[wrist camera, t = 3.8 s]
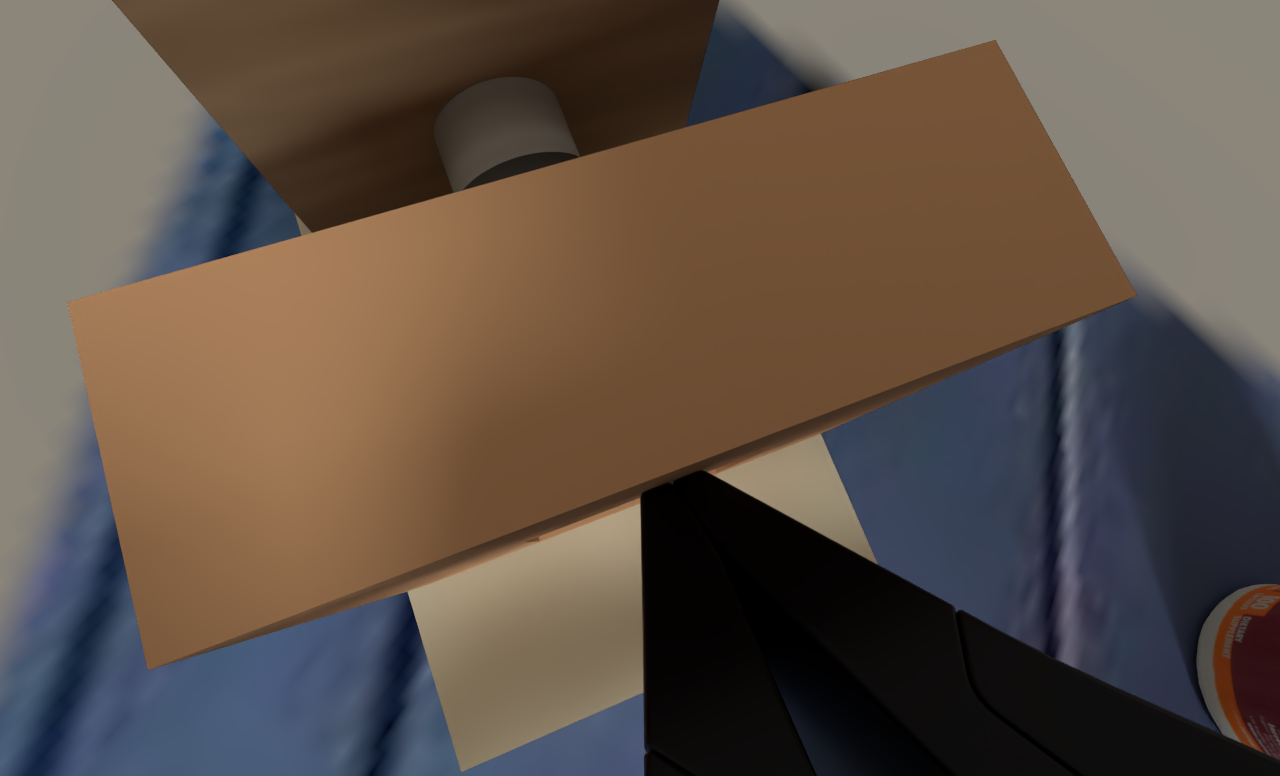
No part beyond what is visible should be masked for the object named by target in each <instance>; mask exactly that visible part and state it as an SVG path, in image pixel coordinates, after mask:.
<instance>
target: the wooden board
mask: <svg viewBox="0 0 1280 776" xmlns="http://www.w3.org/2000/svg"><path fill="white" fill-rule="evenodd" d="M1135 296H1137V294H1136V293H1135V291H1134V289H1133V287H1132V285H1131V283H1130V282H1129V280H1128V278H1127V276H1126V274H1125V273H1124V271H1123V269H1122V267H1121V265H1120V264H1119V262H1118V260H1117V258H1116V256H1115V255H1114V253H1113V251H1112V249H1111V247H1110V246H1109V244H1108V242H1107V240H1106V238H1105V237H1104V235H1103V233H1102V231H1101V229H1100V228H1099V226H1098V224H1097V222H1096V220H1095V219H1094V217H1093V215H1092V213H1091V211H1090V210H1089V208H1088V206H1087V204H1086V202H1085V201H1084V199H1083V197H1082V195H1081V193H1080V192H1079V190H1078V188H1077V186H1076V184H1075V182H1074V181H1073V179H1072V177H1071V175H1070V173H1069V172H1068V170H1067V168H1066V166H1065V164H1064V163H1063V161H1062V159H1061V157H1060V155H1059V154H1058V152H1057V150H1056V148H1055V146H1054V145H1053V143H1052V141H1051V139H1050V138H1049V136H1048V134H1047V132H1046V130H1045V128H1044V127H1043V125H1042V123H1041V121H1040V119H1039V118H1038V116H1037V114H1036V112H1035V110H1034V109H1033V107H1032V105H1031V103H1030V101H1029V99H1028V98H1027V96H1026V94H1025V92H1024V90H1023V89H1022V87H1021V85H1020V83H1019V82H1018V80H1017V78H1016V76H1015V74H1014V72H1013V71H1012V69H1011V67H1010V65H1009V64H1008V62H1007V60H1006V58H1005V56H1004V54H1003V53H1002V51H1001V49H1000V47H999V46H998V44H997V42H996V40H994V41H990V42H987V43H983V44H980V45H976V46H973V47H969V48H965V49H962V50H958V51H955V52H951V53H948V54H944V55H941V56H937V57H933V58H930V59H926V60H923V61H919V62H916V63H912V64H909V65H905V66H902V67H898V68H895V69H891V70H887V71H884V72H880V73H877V74H873V75H870V76H866V77H863V78H859V79H856V80H852V81H848V82H845V83H841V84H838V85H834V86H831V87H827V88H824V89H820V90H817V91H813V92H810V93H806V94H802V95H799V96H795V97H792V98H788V99H785V100H781V101H778V102H774V103H771V104H767V105H763V106H760V107H756V108H753V109H749V110H746V111H742V112H739V113H735V114H732V115H728V116H725V117H721V118H717V119H714V120H710V121H707V122H703V123H700V124H696V125H693V126H689V127H686V128H682V129H679V130H675V131H671V132H668V133H664V134H661V135H657V136H654V137H650V138H647V139H643V140H640V141H636V142H632V143H629V144H625V145H622V146H618V147H615V148H611V149H608V150H604V151H601V152H597V153H594V154H590V155H586V156H583V157H579V158H576V159H572V160H569V161H565V162H562V163H558V164H555V165H551V166H547V167H544V168H540V169H537V170H533V171H530V172H526V173H523V174H519V175H516V176H512V177H509V178H505V179H501V180H498V181H494V182H491V183H487V184H484V185H480V186H477V187H473V188H470V189H466V190H462V191H459V192H455V193H452V194H448V195H445V196H441V197H438V198H434V199H431V200H427V201H424V202H420V203H416V204H413V205H409V206H406V207H402V208H399V209H395V210H392V211H388V212H385V213H381V214H377V215H374V216H370V217H367V218H363V219H360V220H356V221H353V222H349V223H346V224H342V225H339V226H335V227H331V228H328V229H324V230H321V231H317V232H314V233H310V234H307V235H303V236H300V237H296V238H292V239H289V240H285V241H282V242H278V243H275V244H271V245H268V246H264V247H261V248H257V249H254V250H250V251H246V252H243V253H239V254H236V255H232V256H229V257H225V258H222V259H218V260H215V261H211V262H207V263H204V264H200V265H197V266H193V267H190V268H186V269H183V270H179V271H176V272H172V273H169V274H165V275H161V276H158V277H154V278H151V279H147V280H144V281H140V282H137V283H133V284H130V285H126V286H122V287H119V288H115V289H112V290H108V291H105V292H101V293H98V294H94V295H91V296H87V297H84V298H80V299H77V300H73V301H70V302H67V303H68V307H69V312H70V317H71V321H72V325H73V330H74V335H75V339H76V344H77V348H78V353H79V358H80V362H81V367H82V371H83V376H84V380H85V385H86V390H87V394H88V399H89V403H90V408H91V412H92V417H93V421H94V426H95V431H96V435H97V440H98V444H99V449H100V453H101V458H102V463H103V467H104V472H105V476H106V481H107V485H108V490H109V494H110V499H111V504H112V508H113V513H114V517H115V522H116V526H117V531H118V536H119V540H120V545H121V549H122V554H123V558H124V563H125V567H126V572H127V577H128V581H129V586H130V590H131V595H132V599H133V604H134V609H135V613H136V618H137V622H138V627H139V631H140V636H141V640H142V645H143V650H144V654H145V659H146V663H147V668H148V670H150V669H154V668H157V667H160V666H163V665H167V664H170V663H173V662H177V661H180V660H183V659H186V658H190V657H193V656H196V655H200V654H203V653H206V652H210V651H213V650H216V649H219V648H223V647H226V646H229V645H233V644H236V643H239V642H242V641H246V640H249V639H252V638H256V637H259V636H262V635H265V634H269V633H272V632H275V631H279V630H282V629H285V628H288V627H292V626H295V625H298V624H302V623H305V622H308V621H312V620H315V619H318V618H321V617H325V616H328V615H331V614H335V613H338V612H341V611H344V610H348V609H351V608H354V607H358V606H361V605H364V604H367V603H371V602H374V601H377V600H381V599H384V598H387V597H390V596H394V595H397V594H400V593H404V592H407V591H410V590H414V589H417V588H420V587H423V586H427V585H429V584H432V583H435V582H437V581H440V580H442V579H445V578H448V577H450V576H453V575H455V574H458V573H461V572H463V571H466V570H468V569H471V568H474V567H476V566H479V565H481V564H484V563H487V562H489V561H492V560H494V559H497V558H500V557H502V556H505V555H507V554H510V553H513V552H515V551H518V550H520V549H523V548H526V547H528V546H531V545H533V544H536V543H539V542H541V541H544V540H546V539H549V538H552V537H554V536H557V535H559V534H562V533H565V532H567V531H570V530H572V529H575V528H578V527H580V526H583V525H585V524H588V523H591V522H593V521H596V520H598V519H601V518H604V517H606V516H609V515H611V514H614V513H617V512H619V511H622V510H625V509H627V508H630V507H632V506H635V505H638V504H640V496H641V493H642V492H645V491H647V490H650V489H653V488H655V487H658V486H660V485H663V484H666V483H671V484H672V485H673V482H674V480H676V479H679V478H681V477H684V476H687V475H689V474H692V473H694V472H697V471H700V470H704V471H707V472H709V473H710V474H712V475H716V474H718V473H721V472H723V471H726V470H729V469H731V468H734V467H736V466H739V465H742V464H744V463H747V462H749V461H752V460H755V459H757V458H760V457H762V456H765V455H768V454H770V453H773V452H775V451H778V450H781V449H783V448H786V447H788V446H791V445H794V444H796V443H799V442H801V441H804V440H807V439H809V438H811V437H814V436H816V435H818V434H821V433H823V432H825V431H827V430H830V429H832V428H834V427H837V426H839V425H841V424H844V423H846V422H848V421H850V420H853V419H855V418H857V417H860V416H862V415H864V414H866V413H869V412H871V411H873V410H876V409H878V408H880V407H883V406H885V405H887V404H889V403H892V402H894V401H896V400H899V399H901V398H903V397H905V396H908V395H910V394H912V393H915V392H917V391H919V390H922V389H924V388H926V387H928V386H931V385H933V384H935V383H938V382H940V381H942V380H944V379H947V378H949V377H951V376H954V375H956V374H958V373H961V372H963V371H965V370H967V369H970V368H972V367H974V366H977V365H979V364H981V363H983V362H986V361H988V360H990V359H993V358H995V357H997V356H1000V355H1002V354H1004V353H1006V352H1009V351H1011V350H1013V349H1016V348H1018V347H1020V346H1022V345H1025V344H1027V343H1029V342H1032V341H1034V340H1036V339H1039V338H1041V337H1043V336H1045V335H1048V334H1050V333H1052V332H1055V331H1057V330H1059V329H1061V328H1064V327H1066V326H1068V325H1071V324H1073V323H1075V322H1078V321H1080V320H1082V319H1084V318H1087V317H1089V316H1091V315H1094V314H1096V313H1098V312H1100V311H1103V310H1105V309H1107V308H1110V307H1112V306H1114V305H1117V304H1119V303H1121V302H1123V301H1126V300H1128V299H1130V298H1133V297H1135Z"/></svg>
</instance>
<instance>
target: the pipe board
mask: <svg viewBox="0 0 1280 776" xmlns="http://www.w3.org/2000/svg"><path fill="white" fill-rule="evenodd" d="M112 1H113V2H114V3H115V4H116V5H117V7H118V8H119V9H120V10H121V11H122V12H123V13H124V15H125V16H126V17H127V18H128V19H129V21H130V22H131V23H132V24H133V25H134V26H135V27H136V29H137V30H138V31H139V32H140V33H141V35H142V36H143V37H144V38H145V39H146V40H147V42H148V43H149V44H150V45H151V46H152V47H153V48H154V50H155V51H156V52H157V53H158V54H159V56H160V57H161V58H162V59H163V60H164V61H165V62H166V64H167V65H168V66H169V67H170V68H171V69H172V71H173V72H174V73H175V74H176V75H177V76H178V78H179V79H180V80H181V81H182V82H183V83H184V85H185V86H186V87H187V88H188V89H189V90H190V92H191V93H192V94H193V95H194V96H195V97H196V99H197V100H198V101H199V102H200V103H201V104H202V106H203V107H204V108H205V109H206V110H207V111H208V113H209V114H210V115H211V116H212V117H213V118H214V120H215V121H216V122H217V123H218V124H219V125H220V127H221V128H222V129H223V130H224V131H225V132H226V134H227V135H228V136H229V137H230V138H231V139H232V140H233V142H234V143H235V144H236V145H237V146H238V147H239V149H240V150H241V151H242V152H243V153H244V154H245V156H246V157H247V158H248V159H249V160H250V161H251V163H252V164H253V165H254V166H255V167H256V168H257V170H258V171H259V172H260V173H261V174H262V175H263V177H264V178H265V179H266V180H267V181H268V182H269V184H270V185H271V186H272V187H273V188H274V189H275V191H276V192H277V193H278V194H279V195H280V196H281V197H282V199H283V200H284V201H285V202H286V203H287V204H288V206H289V207H290V208H291V209H292V210H293V211H294V213H295V216H296V219H297V222H298V226H299V229H300V233H301V236H303V235H307V234H310V233H314V232H317V231H321V230H324V229H328V228H331V227H335V226H339V225H342V224H346V223H349V222H353V221H356V220H360V219H363V218H367V217H370V216H374V215H377V214H381V213H385V212H388V211H392V210H395V209H399V208H402V207H406V206H409V205H413V204H416V203H420V202H424V201H427V200H431V199H434V198H438V197H441V196H445V195H448V194H452V193H455V192H459V191H462V190H466V189H470V188H473V187H477V186H480V185H484V184H487V183H491V182H494V181H498V180H501V179H505V178H509V177H512V176H516V175H519V174H523V173H526V172H530V171H533V170H537V169H540V168H544V167H547V166H551V165H555V164H558V163H562V162H565V161H569V160H572V159H576V158H579V157H583V156H586V155H590V154H594V153H597V152H601V151H604V150H608V149H611V148H615V147H618V146H622V145H625V144H629V143H632V142H636V141H640V140H643V139H647V138H650V137H654V136H657V135H661V134H664V133H668V132H671V131H675V130H679V129H682V128H686V127H687V126H686V124H687V120H688V116H689V112H690V109H691V105H692V101H693V97H694V94H695V90H696V86H697V82H698V79H699V75H700V71H701V67H702V63H703V60H704V56H705V52H706V48H707V45H708V41H709V37H710V33H711V30H712V26H713V22H714V18H715V14H716V11H717V7H718V3H719V0H112ZM714 476H716V477H718V478H720V479H721V480H723V481H725V482H727V483H729V484H731V485H732V486H734V487H736V488H738V489H740V490H742V491H743V492H745V493H747V494H749V495H751V496H753V497H755V498H756V499H758V500H760V501H762V502H764V503H766V504H767V505H769V506H771V507H773V508H775V509H777V510H778V511H780V512H782V513H784V514H786V515H788V516H789V517H791V518H793V519H795V520H797V521H799V522H800V523H802V524H804V525H806V526H808V527H810V528H811V529H813V530H815V531H817V532H819V533H821V534H823V535H824V536H826V537H828V538H830V539H832V540H834V541H835V542H837V543H839V544H841V545H843V546H845V547H846V548H848V549H850V550H852V551H854V552H856V553H857V554H859V555H861V556H863V557H865V558H867V559H868V560H870V561H872V562H874V563H876V564H877V561H876V559H875V557H874V555H873V552H872V550H871V548H870V545H869V543H868V541H867V539H866V536H865V534H864V532H863V529H862V527H861V525H860V523H859V520H858V518H857V516H856V513H855V511H854V509H853V506H852V504H851V502H850V500H849V497H848V495H847V493H846V490H845V488H844V486H843V484H842V481H841V479H840V477H839V474H838V472H837V470H836V468H835V465H834V463H833V461H832V458H831V456H830V454H829V451H828V449H827V447H826V445H825V442H824V440H823V438H822V435H821V434H818V435H816V436H814V437H811V438H809V439H807V440H804V441H801V442H799V443H796V444H794V445H791V446H788V447H786V448H783V449H781V450H778V451H775V452H773V453H770V454H768V455H765V456H762V457H760V458H757V459H755V460H752V461H749V462H747V463H744V464H742V465H739V466H736V467H734V468H731V469H729V470H726V471H723V472H721V473H718V474H716V475H714ZM408 594H409V598H410V601H411V604H412V608H413V611H414V614H415V618H416V621H417V624H418V628H419V631H420V635H421V638H422V641H423V645H424V648H425V651H426V655H427V658H428V661H429V665H430V668H431V671H432V675H433V678H434V681H435V685H436V688H437V691H438V695H439V698H440V702H441V705H442V708H443V712H444V715H445V718H446V722H447V725H448V728H449V732H450V735H451V738H452V742H453V745H454V748H455V752H456V755H457V758H458V762H459V765H460V769H461V772H462V771H465V770H467V769H469V768H472V767H474V766H476V765H478V764H481V763H483V762H485V761H488V760H490V759H492V758H494V757H497V756H499V755H501V754H504V753H506V752H508V751H510V750H513V749H515V748H517V747H520V746H522V745H524V744H526V743H529V742H531V741H533V740H536V739H538V738H540V737H542V736H545V735H547V734H549V733H551V732H554V731H556V730H558V729H561V728H563V727H565V726H567V725H570V724H572V723H574V722H577V721H579V720H581V719H583V718H586V717H588V716H590V715H593V714H595V713H597V712H599V711H602V710H604V709H606V708H609V707H611V706H613V705H615V704H618V703H620V702H622V701H625V700H627V699H629V698H631V697H634V696H636V695H638V694H641V693H643V634H642V575H641V516H640V504H638V505H635V506H632V507H630V508H627V509H625V510H622V511H619V512H617V513H614V514H611V515H609V516H606V517H604V518H601V519H598V520H596V521H593V522H591V523H588V524H585V525H583V526H580V527H578V528H575V529H572V530H570V531H567V532H565V533H562V534H559V535H557V536H554V537H552V538H549V539H546V540H544V541H541V542H539V543H536V544H533V545H531V546H528V547H526V548H523V549H520V550H518V551H515V552H513V553H510V554H507V555H505V556H502V557H500V558H497V559H494V560H492V561H489V562H487V563H484V564H481V565H479V566H476V567H474V568H471V569H468V570H466V571H463V572H461V573H458V574H455V575H453V576H450V577H448V578H445V579H442V580H440V581H437V582H435V583H432V584H429V585H427V586H423V587H420V588H417V589H414V590H410V591H408Z"/></svg>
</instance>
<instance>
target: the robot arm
mask: <svg viewBox="0 0 1280 776" xmlns="http://www.w3.org/2000/svg"><path fill="white" fill-rule="evenodd" d="M640 516H641V575H642V634H643V693H644V747H645V750H646V754H645V755H644V776H1280V760H1279V759H1277V758H1275V757H1272V756H1270V755H1268V754H1266V753H1263V752H1261V751H1259V750H1257V749H1254V748H1252V747H1250V746H1247V745H1245V744H1243V743H1241V742H1238V741H1236V740H1234V739H1232V738H1229V737H1227V736H1225V735H1223V734H1220V733H1218V732H1216V731H1214V730H1211V729H1209V728H1207V727H1204V726H1202V725H1200V724H1198V723H1195V722H1193V721H1191V720H1189V719H1186V718H1184V717H1182V716H1180V715H1177V714H1175V713H1173V712H1171V711H1168V710H1166V709H1164V708H1161V707H1159V706H1157V705H1155V704H1152V703H1150V702H1148V701H1146V700H1143V699H1141V698H1139V697H1137V696H1134V695H1132V694H1130V693H1128V692H1125V691H1123V690H1121V689H1119V688H1116V687H1114V686H1112V685H1110V684H1108V683H1106V682H1104V681H1101V680H1099V679H1097V678H1095V677H1093V676H1091V675H1088V674H1086V673H1084V672H1082V671H1080V670H1078V669H1076V668H1073V667H1071V666H1069V665H1067V664H1065V663H1063V662H1061V661H1058V660H1056V659H1054V658H1052V657H1050V656H1048V655H1046V654H1044V653H1042V652H1040V651H1038V650H1037V649H1035V648H1033V647H1031V646H1029V645H1027V644H1025V643H1023V642H1021V641H1019V640H1017V639H1015V638H1013V637H1011V636H1009V635H1007V634H1006V633H1004V632H1002V631H1000V630H998V629H996V628H994V627H992V626H990V625H989V624H987V623H985V622H983V621H981V620H979V619H977V618H976V617H974V616H972V615H970V614H968V613H966V612H965V611H963V610H959V611H957V612H956V610H955V608H954V606H953V605H951V604H949V603H947V602H946V601H944V600H942V599H940V598H938V597H936V596H935V595H933V594H931V593H929V592H927V591H925V590H924V589H922V588H920V587H918V586H916V585H914V584H913V583H911V582H909V581H907V580H905V579H903V578H902V577H900V576H898V575H896V574H894V573H892V572H891V571H889V570H887V569H885V568H883V567H881V566H879V565H878V564H876V563H874V562H872V561H870V560H868V559H867V558H865V557H863V556H861V555H859V554H857V553H856V552H854V551H852V550H850V549H848V548H846V547H845V546H843V545H841V544H839V543H837V542H835V541H834V540H832V539H830V538H828V537H826V536H824V535H823V534H821V533H819V532H817V531H815V530H813V529H811V528H810V527H808V526H806V525H804V524H802V523H800V522H799V521H797V520H795V519H793V518H791V517H789V516H788V515H786V514H784V513H782V512H780V511H778V510H777V509H775V508H773V507H771V506H769V505H767V504H766V503H764V502H762V501H760V500H758V499H756V498H755V497H753V496H751V495H749V494H747V493H745V492H743V491H742V490H740V489H738V488H736V487H734V486H732V485H731V484H729V483H727V482H725V481H723V480H721V479H720V478H718V477H716V476H714V475H712V474H710V473H709V472H707V471H704V470H700V471H697V472H694V473H692V474H689V475H687V476H684V477H681V478H679V479H676V480H674V482H673V485H672V484H671V483H666V484H663V485H660V486H658V487H655V488H653V489H650V490H647V491H645V492H642V493H641V496H640Z"/></svg>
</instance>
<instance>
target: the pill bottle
mask: <svg viewBox="0 0 1280 776" xmlns="http://www.w3.org/2000/svg"><path fill="white" fill-rule="evenodd" d="M1196 663H1197V673H1198V682H1199V685H1200V688H1201V692H1202V695H1203V698H1204V701H1205V703H1206V706H1207V708H1208V710H1209V712H1210V714H1211V716H1212V718H1213V719H1214V721H1215V723H1216V724H1217V726H1218V728H1219V729H1220V731H1221V733H1222V734H1223V735H1225V736H1227V737H1229V738H1232V739H1234V740H1236V741H1238V742H1241V743H1243V744H1245V745H1247V746H1250V747H1252V748H1254V749H1257V750H1259V751H1261V752H1263V753H1266V754H1268V755H1270V756H1272V757H1275V758H1277V759H1279V760H1280V585H1278V584H1258V585H1252V586H1248V587H1245V588H1242V589H1238V590H1237V591H1235V592H1234V593H1232V594H1231V595H1229V596H1228V597H1226V598H1225V599H1224V600H1222V601H1221V602H1220V603H1219V604H1218V605H1217V606H1216V607H1215V608H1214V609H1213V611H1212V612H1211V614H1210V615H1209V616H1208V618H1207V619H1206V621H1205V623H1204V625H1203V627H1202V630H1201V633H1200V636H1199V642H1198V648H1197V658H1196Z"/></svg>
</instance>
